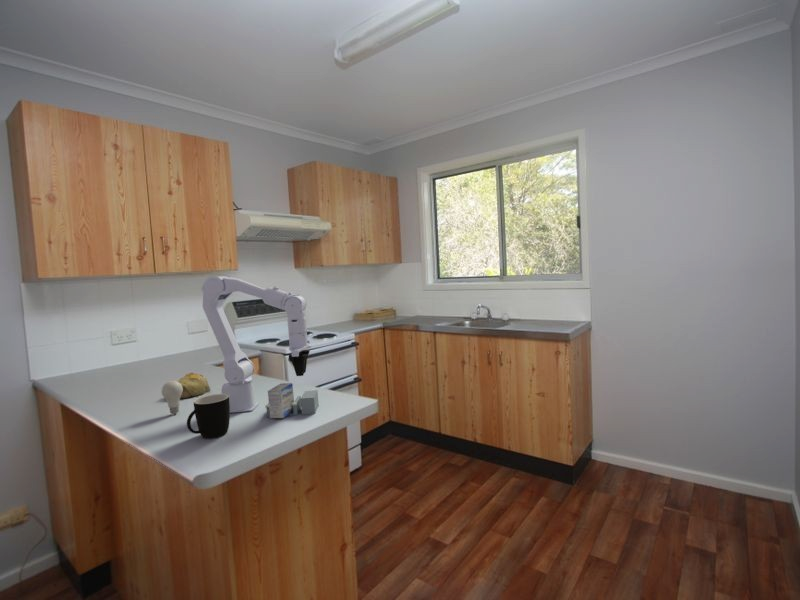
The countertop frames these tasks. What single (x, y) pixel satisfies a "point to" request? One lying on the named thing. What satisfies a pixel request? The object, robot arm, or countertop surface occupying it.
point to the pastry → (193, 385)
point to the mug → (211, 415)
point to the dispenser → (303, 404)
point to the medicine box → (281, 400)
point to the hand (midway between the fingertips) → (301, 374)
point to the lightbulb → (172, 395)
